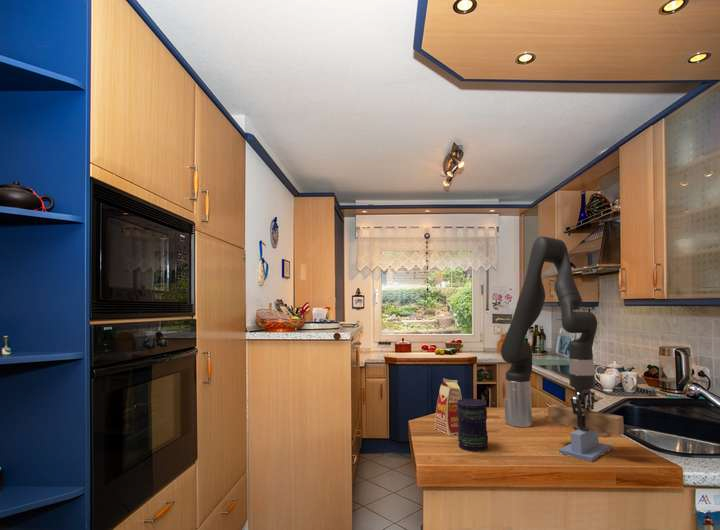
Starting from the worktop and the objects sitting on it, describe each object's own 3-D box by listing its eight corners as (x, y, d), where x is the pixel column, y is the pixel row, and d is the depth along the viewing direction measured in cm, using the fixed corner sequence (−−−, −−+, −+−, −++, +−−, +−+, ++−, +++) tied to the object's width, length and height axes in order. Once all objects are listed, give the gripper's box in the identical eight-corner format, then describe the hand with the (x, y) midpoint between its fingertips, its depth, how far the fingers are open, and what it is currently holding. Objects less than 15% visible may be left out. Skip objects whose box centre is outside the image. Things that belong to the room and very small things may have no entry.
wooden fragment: (615, 439, 157) (615, 436, 157) (581, 438, 159) (581, 435, 159) (592, 419, 182) (591, 416, 182) (563, 418, 184) (563, 416, 184)
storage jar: (487, 453, 145) (485, 406, 146) (456, 450, 148) (454, 404, 149) (489, 443, 154) (487, 399, 155) (460, 440, 157) (459, 397, 158)
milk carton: (448, 436, 163) (447, 380, 164) (433, 429, 171) (432, 376, 172) (468, 432, 167) (466, 378, 168) (452, 426, 175) (450, 374, 176)
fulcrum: (559, 453, 143) (558, 431, 144) (579, 441, 154) (578, 421, 154) (592, 461, 136) (590, 438, 136) (611, 449, 147) (610, 427, 147)
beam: (548, 421, 152) (548, 406, 153) (553, 418, 155) (553, 404, 155) (619, 435, 136) (618, 418, 136) (623, 432, 139) (623, 416, 139)
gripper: (578, 368, 154) (581, 419, 153) (560, 373, 145) (563, 428, 144) (602, 371, 149) (604, 423, 148) (584, 376, 139) (587, 433, 138)
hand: (584, 425), depth 146 cm, fingers closed on beam, 4 cm apart
